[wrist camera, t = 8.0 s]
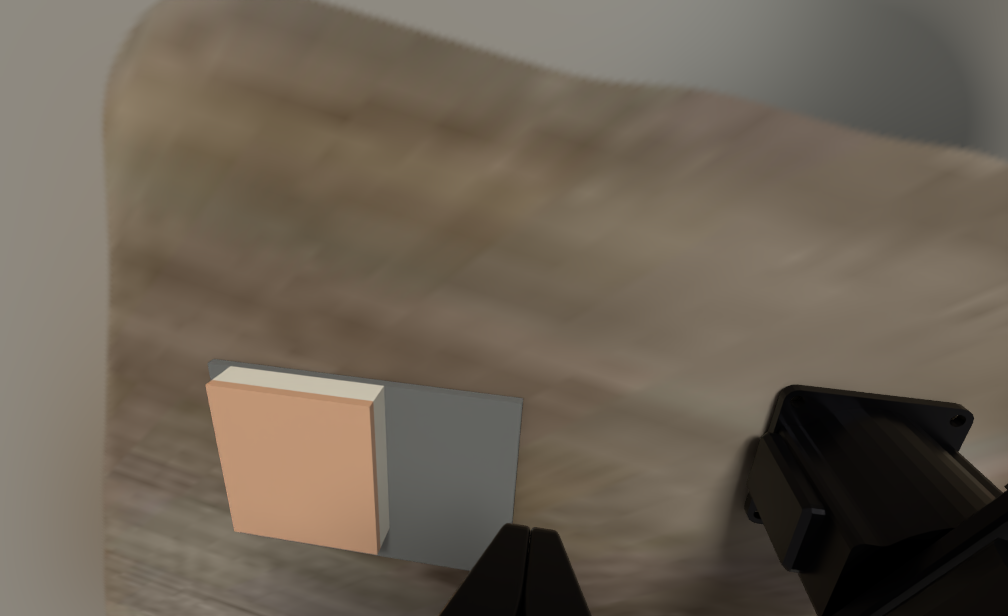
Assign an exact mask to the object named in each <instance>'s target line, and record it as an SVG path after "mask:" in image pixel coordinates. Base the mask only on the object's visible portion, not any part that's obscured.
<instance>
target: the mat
mask: <svg viewBox="0 0 1008 616" xmlns="http://www.w3.org/2000/svg"><path fill="white" fill-rule="evenodd" d="M230 366H233V367H241V368H249V369H257V370H265V371H272V372H280V373H288V374H296V375H303V376H311V377H319V378H327V379H335V380H342V381H350V382H358V383H366V384H374V385H381V386H384V398H385V423H386V449H387V475H388V500H389V526H390V528H389V530H388V532H387V535H386V537H385V539H384V541H383V543H382V546H381V548H380V550H379V552H378V555H377V556H383V557H389V558H395V559H401V560H407V561H413V562H420V563H426V564H432V565H438V566H444V567H450V568H456V569H462V570H468V571H471V569H472V568H473V566H474V565H475V564H476V562H477V561H478V559H479V558H480V557H481V555H482V554H483V552H484V551H485V550H486V548H487V547H488V545H489V544H490V543H491V541H492V540H493V539H494V537H495V536H496V534H497V533H498V532H499V530H500V529H501V527H502V526H503V525H504V524H506V523H512V522H513V511H514V499H515V487H516V476H517V464H518V453H519V441H520V429H521V418H522V406H523V398H517V397H509V396H501V395H493V394H485V393H477V392H469V391H462V390H454V389H446V388H438V387H430V386H422V385H414V384H407V383H399V382H391V381H383V380H375V379H367V378H359V377H352V376H344V375H336V374H328V373H320V372H312V371H304V370H296V369H289V368H281V367H273V366H265V365H257V364H249V363H241V362H234V361H226V360H218V359H213V360H211V361H210V362H209V363H208V368H209V373H210V379H211V380H213V379H214V378H215V377H217V376H218V375H219V374H221V373H222V372H223V371H225V370H226V369H227V368H229V367H230ZM240 533H242V532H240ZM245 534H248V533H245ZM251 535H254V534H251ZM257 536H260V535H257ZM263 537H266V536H263ZM269 538H272V537H269ZM275 539H278V538H275ZM281 540H284V539H281ZM287 541H290V540H287ZM293 542H296V541H293ZM299 543H302V542H299ZM305 544H308V543H305ZM311 545H314V544H311ZM317 546H320V545H317ZM323 547H326V546H323ZM329 548H332V547H329ZM335 549H338V548H335ZM341 550H344V549H341ZM347 551H351V550H347ZM353 552H357V551H353ZM359 553H363V552H359ZM365 554H369V553H365ZM371 555H375V554H371Z"/></svg>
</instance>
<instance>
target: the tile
mask: <svg viewBox="0 0 1008 616" xmlns="http://www.w3.org/2000/svg"><path fill="white" fill-rule="evenodd" d="M206 390H207V395H208V400H209V405H210V410H211V415H212V420H213V425H214V430H215V435H216V440H217V445H218V450H219V456H220V461H221V466H222V471H223V476H224V481H225V486H226V491H227V496H228V501H229V506H230V511H231V516H232V521H233V526H234V531H236V532H242V533H248V534H254V535H260V536H266V537H272V538H278V539H284V540H290V541H296V542H302V543H308V544H314V545H320V546H326V547H332V548H338V549H344V550H351V551H357V552H363V553H369V554H375V555H378V552H379V550H380V548H381V546H382V543H383V541H384V539H385V537H386V535H387V532H388V530H389V528H390V526H389V500H388V475H387V449H386V423H385V398H384V386H381V385H374V384H366V383H358V382H350V381H342V380H335V379H327V378H319V377H311V376H303V375H296V374H288V373H280V372H272V371H265V370H257V369H249V368H241V367H233V366H230V367H229V368H227V369H226V370H225V371H223V372H222V373H221V374H219V375H218V376H217V377H215V378H214V379H213V380H211V381H210V382H209V383H207V384H206Z"/></svg>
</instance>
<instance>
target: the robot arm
mask: <svg viewBox="0 0 1008 616" xmlns="http://www.w3.org/2000/svg"><path fill="white" fill-rule="evenodd" d="M795 396H801V397H800V399H799V400H797V401H795V402H791V399H792V398H793V397H795ZM956 415H958V416H957V417H956V418H955V419H953V420H951V418H952V417H954V416H956ZM973 420H974V417H973V414H972V413H971V412H970V411H968V410H967V409H966V408H964V407H963V406H962V405H960V404H957V403H949V402H941V401H932V400H924V399H915V398H907V397H898V396H890V395H881V394H873V393H864V392H856V391H847V390H839V389H830V388H822V387H813V386H805V385H790V386H787V387H786V388H784V389H783V390H782V391H781V393H780V395H779V398H778V402H777V405H776V408H775V411H774V414H773V417H772V421H771V424H770V427H769V430H768V432H767V433H765V434H764V435H763V436H762V437H761V440H760V443H759V446H758V449H757V452H756V456H755V459H754V462H753V465H752V468H751V472H750V475H749V478H748V481H747V487H748V490H749V493H748V496H747V499H746V503H745V508H744V509H745V511H746V514H747V516H748V518H749V520H751V521H752V522H754V523H758V524H764V526H765V528H766V531H767V533H768V535H769V537H770V540H771V542H772V544H773V547H774V549H775V551H776V553H777V556H778V558H779V560H780V562H781V564H782V565H783V566H784V568H785V569H786V570H787V571H790V572H796V573H798V575H799V577H800V579H801V581H802V583H803V586H804V588H805V590H806V592H807V594H808V596H809V598H810V601H811V603H812V605H813V607H814V609H815V611H816V613H817V616H1008V484H1007V485H1005V486H1004V487H1005V488H1006V489H1007V491H1005V492H1004V493H1003V492H1001V491H1000V490H999V489H998V488H997V487H996V486H995V485H994V484H993V483H992V482H991V481H989V480H988V479H987V478H986V477H985V476H984V475H983V474H982V473H981V472H980V471H979V470H977V469H976V468H975V467H974V466H973V465H972V464H971V463H970V462H969V461H968V460H967V459H965V458H964V457H963V456H962V455H961V454H960V453H959V452H958V451H959V449H960V447H961V445H962V444H963V442H964V440H965V438H966V436H967V434H968V432H969V430H970V428H971V426H972V424H973ZM756 510H758V512H755V511H756ZM529 540H530V542H529ZM528 549H529V551H528ZM527 559H528V560H527ZM521 613H522V614H521ZM438 616H591V613H590V611H589V608H588V606H587V603H586V601H585V598H584V596H583V593H582V591H581V588H580V586H579V583H578V581H577V578H576V576H575V573H574V571H573V568H572V566H571V563H570V561H569V558H568V556H567V553H566V551H565V548H564V546H563V543H562V541H561V538H560V536H559V534H558V532H556V531H555V530H550V529H544V528H537V527H534V528H532V530H531V533H530V528H529V527H528V526H524V525H518V524H512V523H506V524H504V525H503V526H502V527H501V529H500V530H499V532H498V533H497V534H496V536H495V537H494V539H493V540H492V541H491V543H490V544H489V545H488V547H487V548H486V550H485V551H484V552H483V554H482V555H481V557H480V558H479V559H478V561H477V562H476V564H475V565H474V566H473V568H472V569H471V571H470V572H469V573H468V575H467V576H466V578H465V579H464V580H463V582H462V583H461V585H460V586H459V587H458V589H457V590H456V592H455V593H454V594H453V596H452V597H451V599H450V600H449V601H448V603H447V604H446V605H445V607H444V608H443V610H442V611H441V612H440V614H439V615H438Z"/></svg>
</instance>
